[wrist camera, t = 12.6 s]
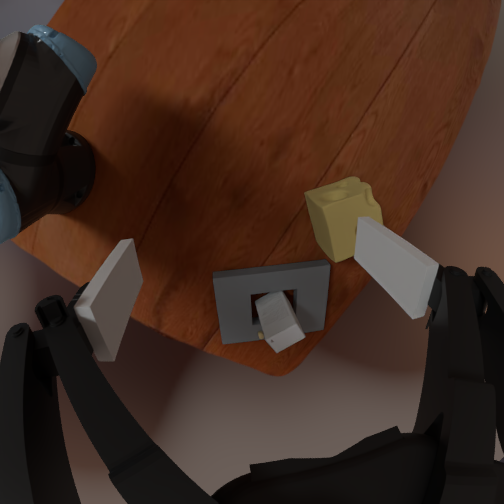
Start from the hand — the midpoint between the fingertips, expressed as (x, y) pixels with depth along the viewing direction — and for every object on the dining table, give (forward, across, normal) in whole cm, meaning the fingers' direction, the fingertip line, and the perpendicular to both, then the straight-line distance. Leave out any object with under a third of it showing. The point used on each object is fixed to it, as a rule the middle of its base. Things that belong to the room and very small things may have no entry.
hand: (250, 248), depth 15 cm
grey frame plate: (+32, +7, -26) cm, 42 cm away
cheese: (+32, +19, -8) cm, 38 cm away
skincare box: (+32, +7, -26) cm, 42 cm away
